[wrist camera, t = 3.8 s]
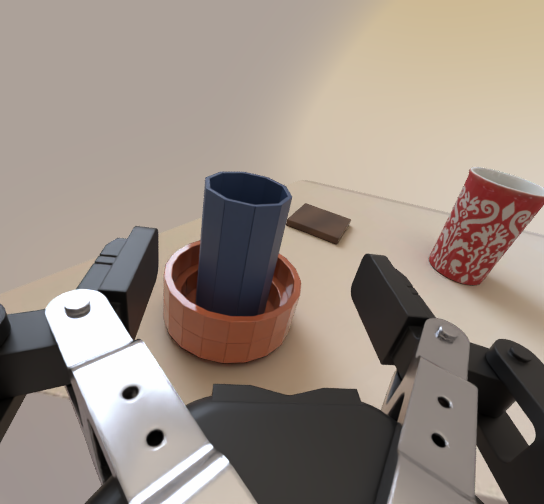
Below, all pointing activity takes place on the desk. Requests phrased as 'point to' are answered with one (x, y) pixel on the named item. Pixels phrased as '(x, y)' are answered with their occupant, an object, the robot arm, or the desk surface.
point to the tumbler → (240, 242)
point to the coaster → (319, 223)
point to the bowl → (222, 328)
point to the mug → (484, 224)
